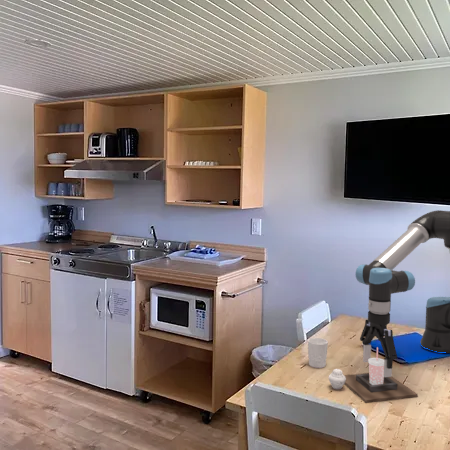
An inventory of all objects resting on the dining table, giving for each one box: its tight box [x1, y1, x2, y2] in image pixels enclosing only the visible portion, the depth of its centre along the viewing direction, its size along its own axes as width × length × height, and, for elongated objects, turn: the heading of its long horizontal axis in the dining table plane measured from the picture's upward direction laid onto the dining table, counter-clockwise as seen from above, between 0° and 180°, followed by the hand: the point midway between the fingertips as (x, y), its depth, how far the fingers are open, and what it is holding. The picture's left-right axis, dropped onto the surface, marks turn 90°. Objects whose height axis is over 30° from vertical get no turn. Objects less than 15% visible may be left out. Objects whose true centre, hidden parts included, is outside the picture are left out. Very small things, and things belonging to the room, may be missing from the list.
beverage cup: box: [367, 346, 384, 385], centre depth 168 cm, size 6×6×14 cm
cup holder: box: [343, 372, 419, 404], centre depth 169 cm, size 20×20×3 cm
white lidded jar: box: [328, 368, 346, 390], centre depth 168 cm, size 6×6×7 cm
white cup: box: [307, 337, 329, 369], centre depth 189 cm, size 8×8×10 cm
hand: (376, 368), depth 168 cm, fingers open, 13 cm apart
